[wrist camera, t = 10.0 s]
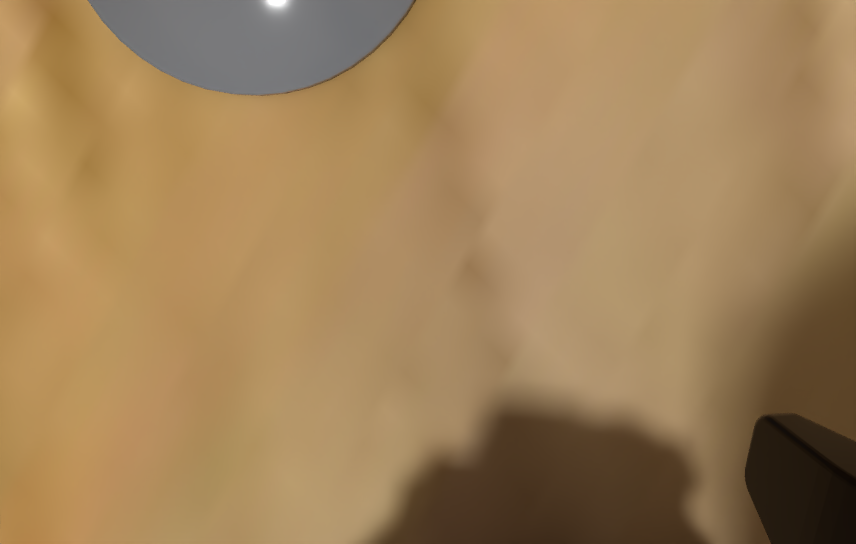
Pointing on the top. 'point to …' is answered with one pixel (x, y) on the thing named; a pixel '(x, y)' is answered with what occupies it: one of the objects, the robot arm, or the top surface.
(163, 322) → the top surface
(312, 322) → the top surface
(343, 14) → the slate coaster
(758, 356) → the top surface
